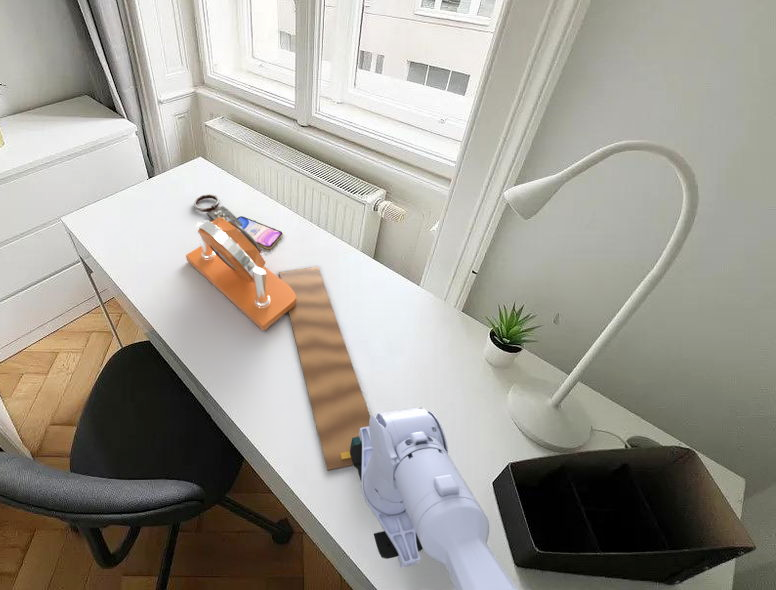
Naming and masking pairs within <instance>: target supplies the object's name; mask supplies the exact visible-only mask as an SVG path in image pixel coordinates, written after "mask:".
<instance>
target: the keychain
mask: <svg viewBox="0 0 776 590" xmlns="http://www.w3.org/2000/svg"><path fill="white" fill-rule="evenodd" d="M207 199H213V200H215V201H216V203H215V204H213V205H211V206H209V207H201V206H198V203H199V202H201V201H203V200H207ZM220 203H221V202H220V199H219V197H218V195H214V194H211V193H208V194H202V195H200V196H198V197H197V198H196V199H195V200H194V203H193V206H194V209H195V210H196V211H198V212H201V213H205V214H206V215H207V216H208V217H209V219H210V220H211V221H213V220H215V219H217V218H219V217H222V218H223V219H225V220H226V221H227V222H228V220H232V221H234V222H235V223H237V224H238V225H240V226H242V224H241V223H240V221H239V220H238V219H237V218H238V217H236V215H234V214H233V213H232V212H231V211H230V209H228V208H226V207H225V206H223V205H222V206H220Z"/></svg>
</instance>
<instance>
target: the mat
mask: <svg viewBox="0 0 776 590" xmlns="http://www.w3.org/2000/svg"><path fill="white" fill-rule="evenodd" d="M278 275H279V278H280V279H281V280H282V281H284V282H285V283H286V284H287V285H289V286H290V287H291V288H292V290H293V291H294V292H295V295H296V304H295V306H294V307H293V308H291V309H290V310H289V311H288V315H289V320H290V324H291V327H292V332H293V336H294V340H295V343H296V348H297V352H298V355H299V361H300V364H301V368H302V373H303V377H304V380H305V381H304V382H305V385H306V389H307V394H308V397H309V402H310V405H311V409H312V414H313V417H314V418H313V419H314V421H315V426H316V429H317V434H318V438H319V442H320V446H321V450H322V454H323V458H324V459H323V460H324V463H325V467H326V471H333V470H338V469H341V468H342V469H343V468H347V467H352V466H354V465H353V462H352V459H351V458H350V459H345V460H342V459H341V456H340V453H343V452H348V451H350V446H351V442H352V438H354V437H359V431H360V428H363V427H368V426H369V420H370V416H371V415H370V411H369V408H368V406H367V403H366V400H365V397H364V395H363V392H362V389H361V386H360V383H359V380H358V377H357V374H356V372H355V368H354V365H353V363H352V361H351V360H352V359H351V358H350V354H349V351H348V349H347V346H346V343H345V340H344V338H343V334H342V331H341V328H340V326H339V323H338V320H337V317H336V315H335V312H334V308H333V305H332V303H331V300H330V297H329V295H328V291H327V289H326V286H325V283H324V280H323V276H322V275H321V271H320V268H319V266H312V267H311V266H310V267H305V268H299V269H298V268H297V269H292V270H285V271H279V272H278Z"/></svg>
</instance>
